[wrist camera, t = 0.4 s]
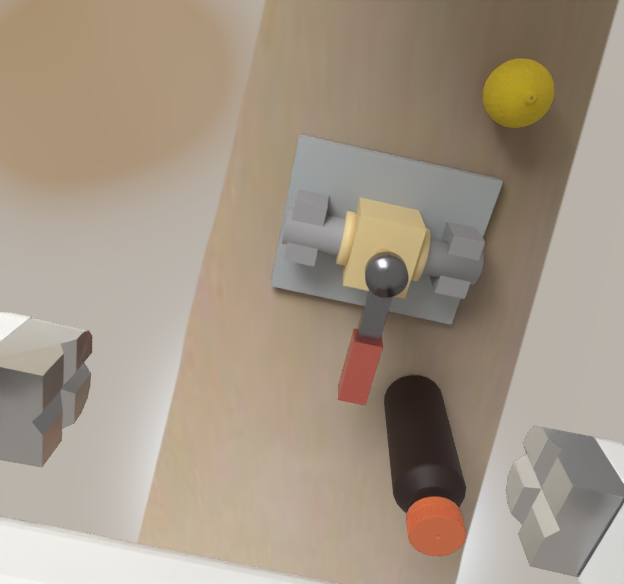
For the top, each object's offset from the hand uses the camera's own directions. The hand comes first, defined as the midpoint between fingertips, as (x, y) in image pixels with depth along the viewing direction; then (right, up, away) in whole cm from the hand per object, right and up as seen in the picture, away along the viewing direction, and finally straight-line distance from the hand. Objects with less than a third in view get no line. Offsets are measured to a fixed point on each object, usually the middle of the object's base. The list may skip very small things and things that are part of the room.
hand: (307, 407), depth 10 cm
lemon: (+18, +21, +40) cm, 49 cm away
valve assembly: (+7, +8, +47) cm, 48 cm away
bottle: (+12, -10, +55) cm, 57 cm away
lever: (+5, -1, +40) cm, 40 cm away
